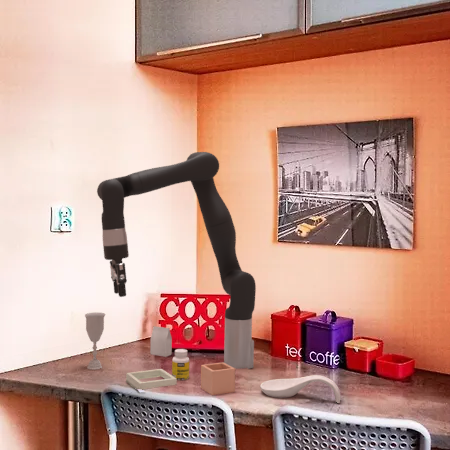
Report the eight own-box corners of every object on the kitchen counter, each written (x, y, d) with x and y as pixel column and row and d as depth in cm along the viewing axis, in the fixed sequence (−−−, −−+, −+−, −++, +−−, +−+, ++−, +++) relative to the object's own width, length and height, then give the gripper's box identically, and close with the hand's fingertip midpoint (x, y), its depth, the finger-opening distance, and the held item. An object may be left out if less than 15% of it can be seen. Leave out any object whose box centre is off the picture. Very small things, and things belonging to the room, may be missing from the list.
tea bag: (166, 356, 244) (166, 329, 243) (150, 354, 247) (150, 327, 247) (171, 354, 247) (171, 327, 247) (156, 352, 251) (156, 325, 250)
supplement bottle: (176, 384, 211) (176, 353, 211) (169, 379, 216) (169, 349, 215) (191, 382, 214) (192, 351, 213) (184, 377, 219) (185, 347, 218)
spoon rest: (256, 401, 197) (257, 377, 197) (263, 389, 209) (264, 366, 208) (338, 408, 192) (339, 384, 191) (341, 396, 203) (342, 372, 203)
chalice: (100, 371, 224) (100, 317, 223) (80, 369, 226) (81, 316, 224) (108, 365, 231) (108, 313, 230) (89, 363, 233) (89, 311, 232)
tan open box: (222, 387, 208) (223, 362, 208) (234, 395, 202) (235, 368, 201) (200, 391, 205) (201, 365, 204) (212, 398, 198) (212, 371, 198)
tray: (161, 377, 218) (161, 368, 218) (176, 387, 208) (176, 378, 208) (126, 381, 213) (126, 373, 213) (139, 392, 202) (139, 383, 202)
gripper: (131, 243, 206) (136, 296, 206) (123, 241, 219) (128, 290, 220) (106, 246, 203) (111, 299, 204) (100, 243, 217) (104, 293, 218)
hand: (120, 294), depth 212 cm, fingers open, 8 cm apart
